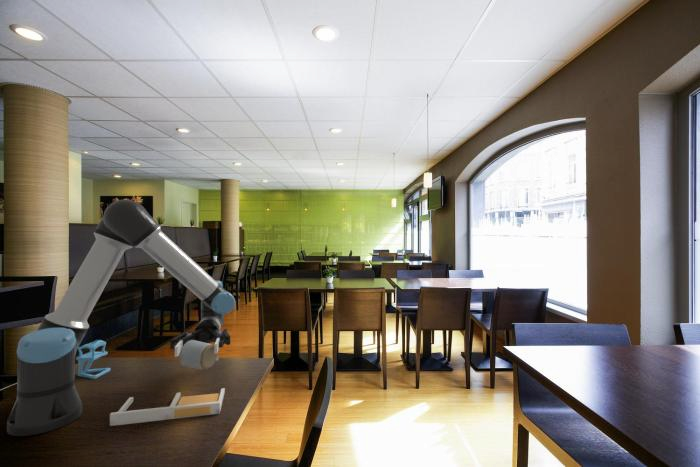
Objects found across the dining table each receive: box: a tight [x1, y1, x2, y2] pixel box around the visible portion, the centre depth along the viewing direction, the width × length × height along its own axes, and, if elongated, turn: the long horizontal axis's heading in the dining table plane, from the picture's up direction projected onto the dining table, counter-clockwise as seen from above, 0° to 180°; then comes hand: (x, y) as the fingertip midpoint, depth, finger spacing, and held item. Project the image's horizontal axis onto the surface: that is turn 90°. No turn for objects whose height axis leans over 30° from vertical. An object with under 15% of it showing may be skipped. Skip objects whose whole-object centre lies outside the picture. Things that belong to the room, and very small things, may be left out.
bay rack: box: [109, 387, 226, 427], centre depth 100 cm, size 27×14×3 cm, turn 104°
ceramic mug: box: [179, 340, 220, 370], centre depth 104 cm, size 11×8×8 cm
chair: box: [75, 339, 111, 380], centre depth 124 cm, size 8×8×12 cm
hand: (196, 350), depth 99 cm, fingers closed on ceramic mug, 10 cm apart
